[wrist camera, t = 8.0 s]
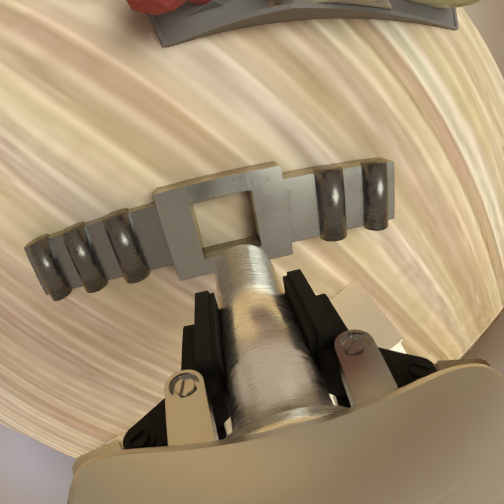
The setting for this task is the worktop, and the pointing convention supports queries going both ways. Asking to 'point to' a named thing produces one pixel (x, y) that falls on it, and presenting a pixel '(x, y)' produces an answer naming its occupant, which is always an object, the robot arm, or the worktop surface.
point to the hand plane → (283, 14)
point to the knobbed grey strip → (187, 232)
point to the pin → (264, 348)
